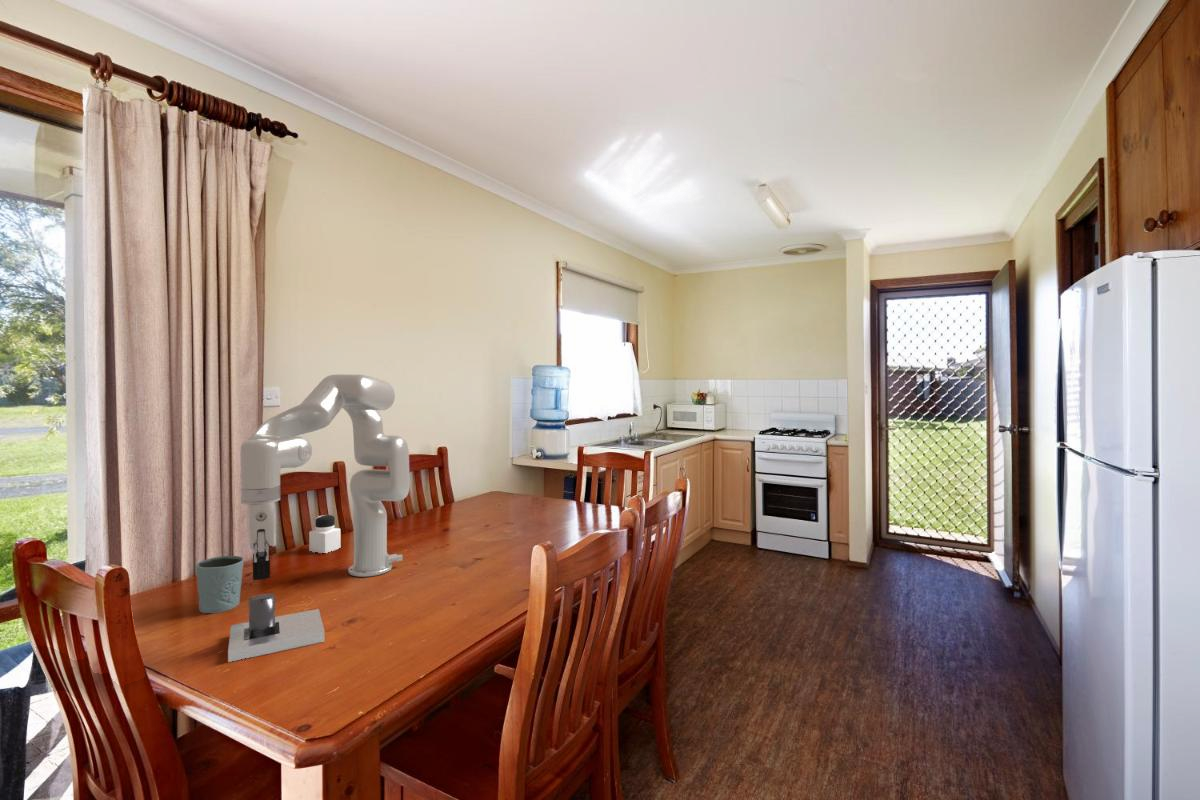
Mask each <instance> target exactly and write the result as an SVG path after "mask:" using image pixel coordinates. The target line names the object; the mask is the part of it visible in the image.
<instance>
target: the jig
mask: <svg viewBox="0 0 1200 800" xmlns="http://www.w3.org/2000/svg"><path fill="white" fill-rule="evenodd" d="M229 633H230V634H229V640H228V649H227V663H231V662H232V661H233V662H237V661H242V660H246V659H249V658H250V657H251V658H257V657H260V656H264V655H269V654H275V653H279V652H282V651H287V650H292V649H296V648H301V647H306V646H311V645H315V644H319V643H324V642H325V628H324V624H323V620H322V616H321V613H320V608H315V609H312V610H305V611H300V612H296V613H290V614H288V613H287V614H284V615H278V616H275V634H274V635H269V636H264V637H259V638H254V639H249V621H247V622H241V623H237V624H236V623H235V624H231V625H230V632H229ZM245 658H246V659H245ZM251 658H250V659H251ZM241 659H242V660H241ZM233 662H232V663H233Z"/></svg>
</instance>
